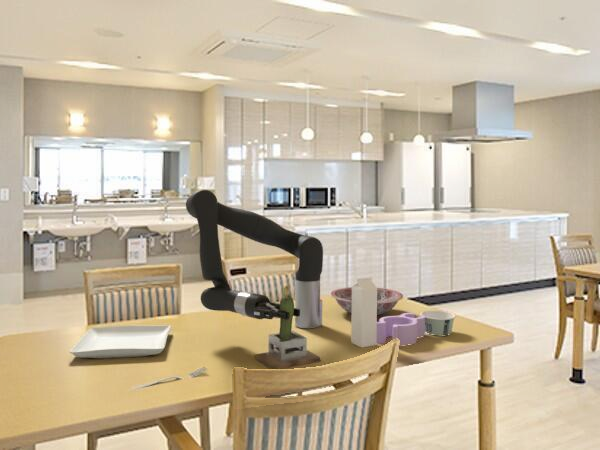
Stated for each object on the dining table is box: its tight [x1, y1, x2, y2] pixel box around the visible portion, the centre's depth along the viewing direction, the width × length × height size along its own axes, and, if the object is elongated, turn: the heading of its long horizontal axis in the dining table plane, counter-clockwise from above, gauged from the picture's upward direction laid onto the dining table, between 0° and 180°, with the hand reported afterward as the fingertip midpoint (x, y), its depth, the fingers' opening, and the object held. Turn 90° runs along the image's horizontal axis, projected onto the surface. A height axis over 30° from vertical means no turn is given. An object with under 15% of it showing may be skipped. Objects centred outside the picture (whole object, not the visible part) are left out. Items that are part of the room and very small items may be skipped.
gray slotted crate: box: [268, 330, 308, 363], centre depth 156 cm, size 8×8×6 cm
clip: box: [376, 312, 426, 345], centre depth 177 cm, size 20×12×7 cm, turn 136°
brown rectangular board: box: [254, 346, 322, 370], centre depth 156 cm, size 16×12×1 cm
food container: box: [420, 310, 457, 335], centre depth 184 cm, size 12×12×6 cm
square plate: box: [69, 324, 173, 359], centre depth 168 cm, size 27×27×4 cm
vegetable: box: [278, 283, 295, 340], centre depth 155 cm, size 4×4×20 cm
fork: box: [129, 366, 208, 390], centre depth 138 cm, size 3×24×2 cm, turn 125°
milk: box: [350, 276, 378, 348], centre depth 170 cm, size 6×6×22 cm
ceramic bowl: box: [330, 286, 404, 316], centre depth 211 cm, size 29×29×8 cm
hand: (294, 314), depth 153 cm, fingers closed on vegetable, 4 cm apart
